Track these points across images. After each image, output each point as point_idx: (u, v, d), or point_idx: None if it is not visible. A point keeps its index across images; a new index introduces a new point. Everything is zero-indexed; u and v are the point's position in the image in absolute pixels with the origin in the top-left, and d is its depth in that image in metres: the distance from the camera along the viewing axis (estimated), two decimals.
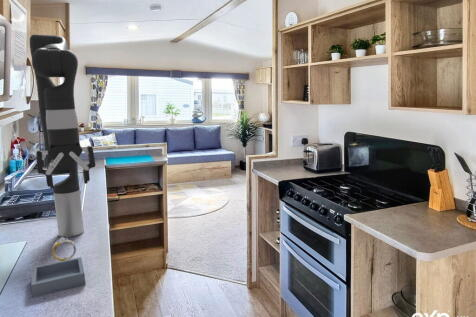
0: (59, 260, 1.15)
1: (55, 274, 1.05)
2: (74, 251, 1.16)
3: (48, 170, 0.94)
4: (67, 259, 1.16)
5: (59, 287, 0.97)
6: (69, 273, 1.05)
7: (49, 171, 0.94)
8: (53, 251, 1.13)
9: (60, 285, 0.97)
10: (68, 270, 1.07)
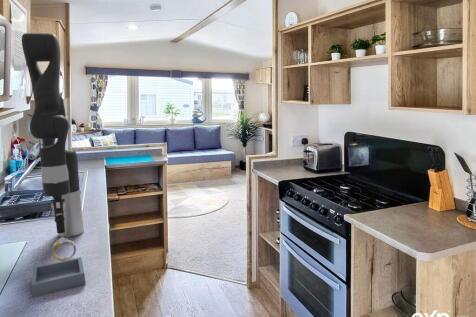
0: (59, 260, 1.15)
1: (55, 274, 1.05)
2: (74, 251, 1.16)
3: None
4: (67, 259, 1.16)
5: (59, 287, 0.97)
6: (69, 273, 1.05)
7: None
8: (53, 251, 1.13)
9: (60, 285, 0.97)
10: (68, 270, 1.07)
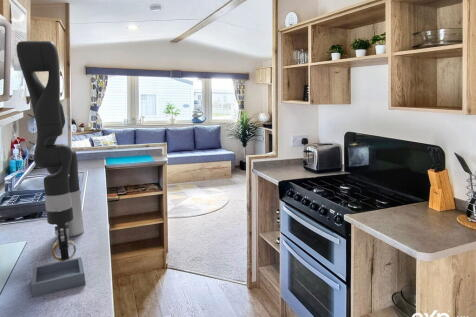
0: (59, 260, 1.15)
1: (55, 274, 1.05)
2: (74, 251, 1.16)
3: None
4: (67, 259, 1.15)
5: (59, 287, 0.97)
6: (69, 273, 1.05)
7: None
8: (53, 251, 1.13)
9: (60, 285, 0.97)
10: (68, 270, 1.07)
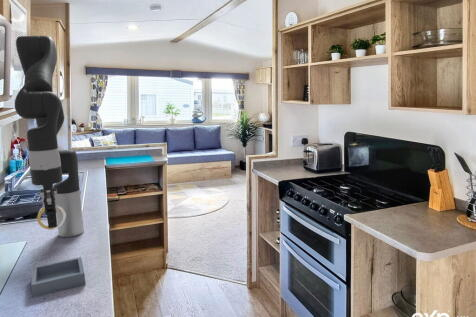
0: (46, 228, 0.99)
1: (55, 274, 1.05)
2: (63, 218, 1.00)
3: (55, 209, 0.98)
4: (55, 227, 1.00)
5: (59, 287, 0.97)
6: (69, 273, 1.05)
7: (55, 210, 0.99)
8: (39, 217, 0.98)
9: (60, 285, 0.97)
10: (68, 270, 1.07)
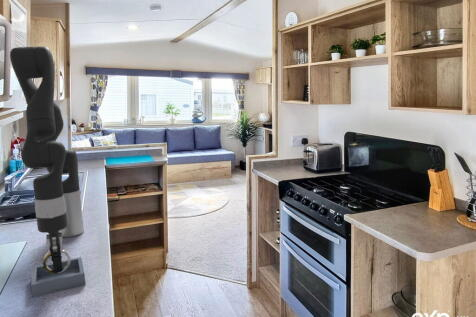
0: (51, 272, 1.01)
1: (55, 274, 1.05)
2: (68, 262, 1.03)
3: None
4: None
5: (59, 287, 0.97)
6: (69, 273, 1.05)
7: None
8: (44, 262, 1.00)
9: (60, 285, 0.97)
10: (68, 270, 1.07)
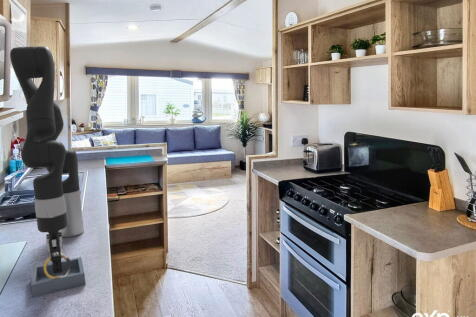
0: (51, 278, 1.01)
1: (55, 274, 1.05)
2: (68, 267, 1.03)
3: None
4: (60, 276, 1.01)
5: (59, 287, 0.97)
6: (69, 273, 1.05)
7: None
8: (45, 266, 1.01)
9: (60, 285, 0.97)
10: None
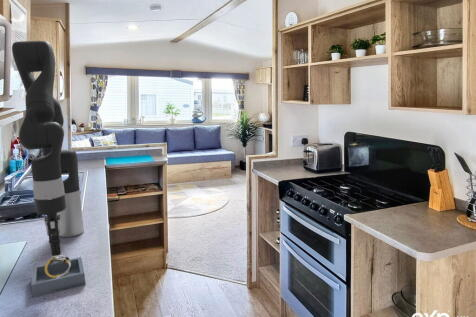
0: (51, 277, 1.01)
1: (55, 274, 1.05)
2: (69, 266, 1.04)
3: (59, 237, 0.97)
4: (60, 275, 1.02)
5: (59, 287, 0.97)
6: (69, 273, 1.05)
7: (59, 238, 0.97)
8: (46, 267, 1.03)
9: (60, 285, 0.97)
10: None
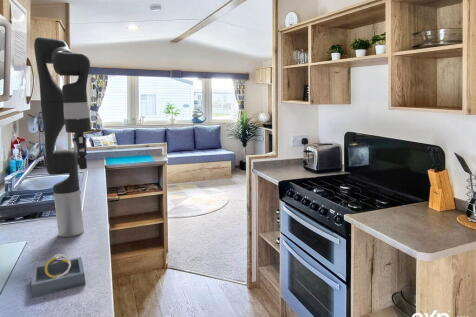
0: (51, 277, 1.01)
1: (55, 274, 1.05)
2: (69, 266, 1.04)
3: (85, 152, 1.12)
4: (60, 275, 1.02)
5: (59, 287, 0.97)
6: (69, 273, 1.05)
7: None
8: (46, 267, 1.03)
9: (60, 285, 0.97)
10: None
